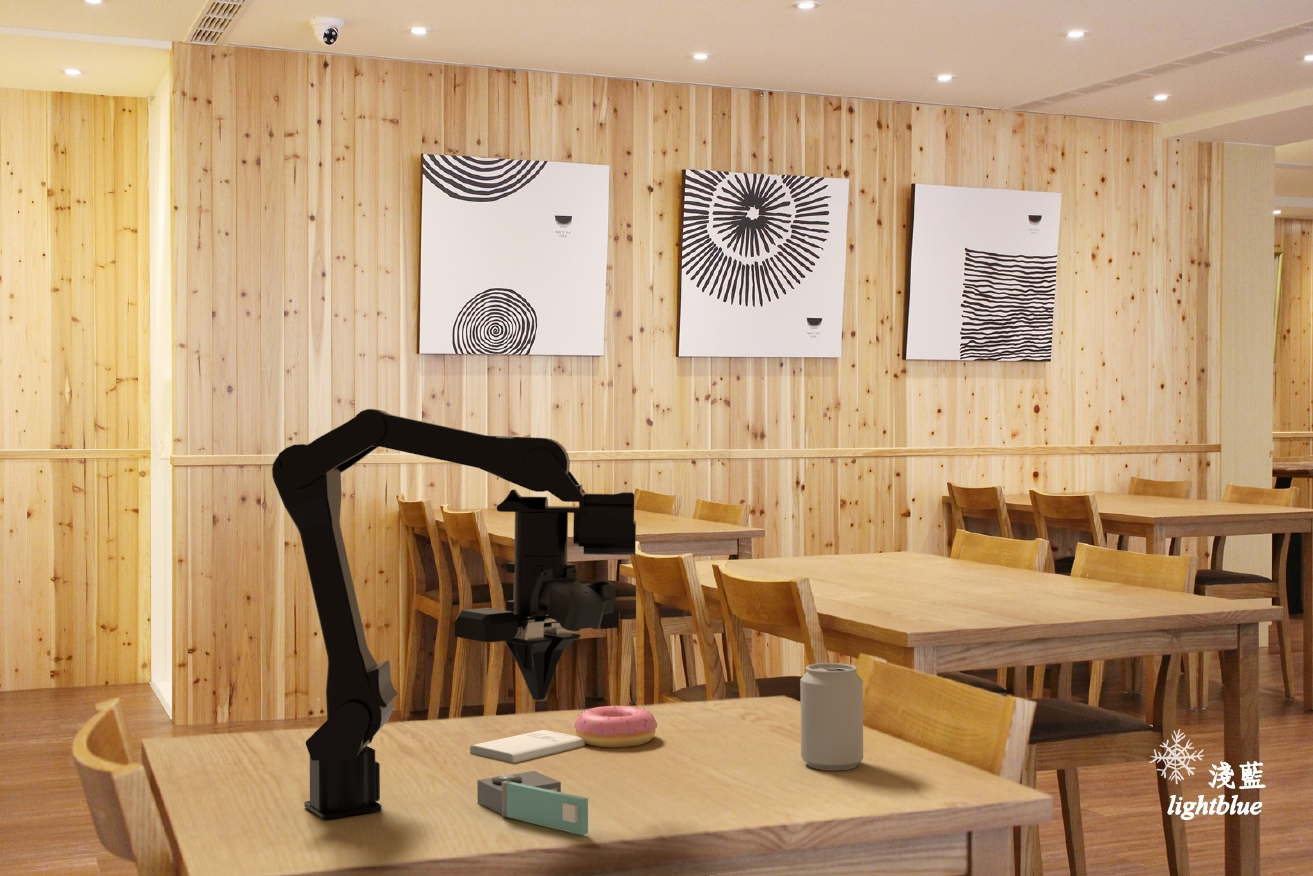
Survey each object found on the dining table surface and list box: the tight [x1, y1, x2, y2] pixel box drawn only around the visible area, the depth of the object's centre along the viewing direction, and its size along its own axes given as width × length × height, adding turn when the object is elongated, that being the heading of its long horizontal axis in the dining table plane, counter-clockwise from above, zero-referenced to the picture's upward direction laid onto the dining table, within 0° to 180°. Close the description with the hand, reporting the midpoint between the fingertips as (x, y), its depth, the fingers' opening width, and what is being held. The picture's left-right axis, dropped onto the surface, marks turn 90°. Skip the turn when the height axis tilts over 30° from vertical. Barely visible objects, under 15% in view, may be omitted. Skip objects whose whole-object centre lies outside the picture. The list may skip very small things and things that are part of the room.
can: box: [799, 662, 864, 772], centre depth 162 cm, size 8×8×12 cm
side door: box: [501, 781, 589, 836], centre depth 136 cm, size 12×1×4 cm, turn 52°
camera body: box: [476, 770, 562, 816], centre depth 145 cm, size 7×6×3 cm
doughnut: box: [574, 704, 658, 748], centre depth 176 cm, size 11×11×4 cm
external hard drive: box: [469, 729, 586, 764], centre depth 171 cm, size 2×8×12 cm
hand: (538, 699), depth 143 cm, fingers closed
